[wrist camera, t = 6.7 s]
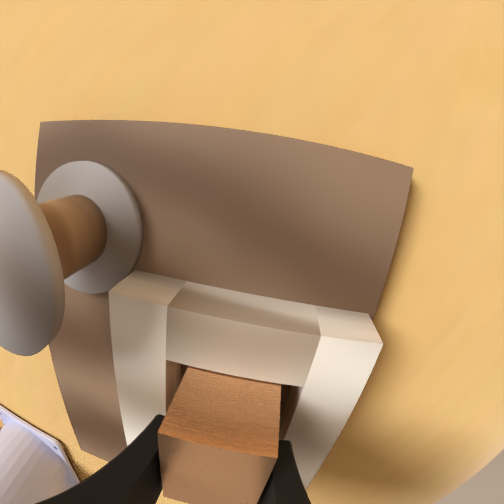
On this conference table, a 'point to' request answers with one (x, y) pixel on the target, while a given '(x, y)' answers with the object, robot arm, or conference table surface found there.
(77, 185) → the brown latch board
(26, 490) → the robot arm
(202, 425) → the orange and brown block
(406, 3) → the conference table surface
